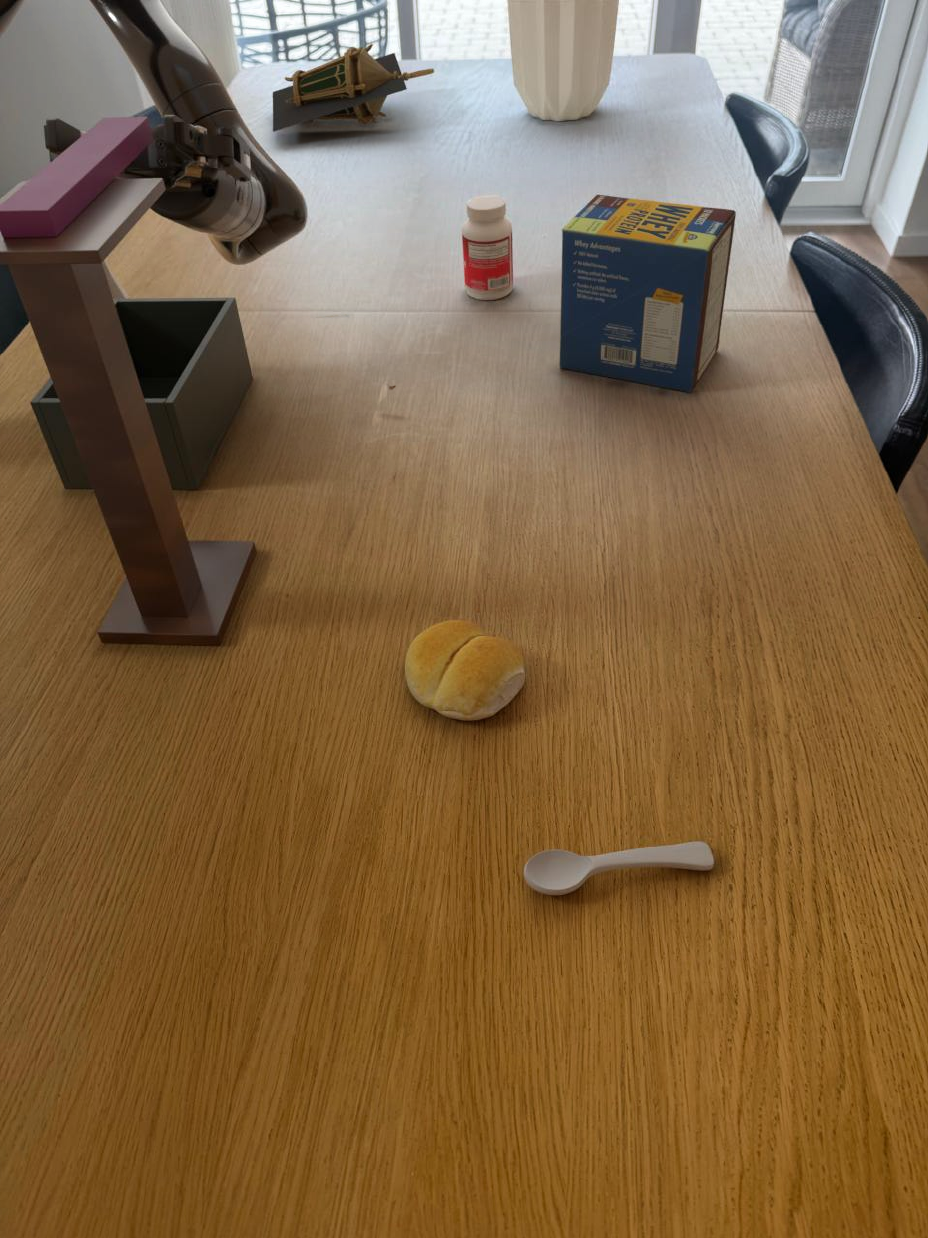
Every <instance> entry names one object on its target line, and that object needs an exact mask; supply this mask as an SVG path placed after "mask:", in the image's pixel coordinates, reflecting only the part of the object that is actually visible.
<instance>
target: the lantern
mask: <svg viewBox="0 0 928 1238" xmlns="http://www.w3.org/2000/svg"><path fill="white" fill-rule="evenodd" d="M373 45H374V44H373V43H370V44H369V45H368V46H366V47H365V48H363V45H361V46H360V47H359V48H357V47H354V46H350V47H348V49H346V51H345V52H344V53H343V55H342V56H340V57H339V56H338V58H335V59H333V60H331V61H328V62H326V63H323V64H321V65H319V66H316V67H314V68H311V69H309V70H307V71H305V70H301V69H298V70H295V72H294V73H292V75H291V77H289V76H285V77H284V80H285V81H286V82H292V85H290V86H288V87H287V86H286V87H284V88H281V89H277V90H275V91H272V132H273V133H274V132H277V131H281V130H284V129H287V128H290V127H293V126H296V125H299V124H303V123H306V124H313V123H314V122H315V121H325V120H327V121H330V120H332V121H334V120H337V121H339V120H357V121H358V122H359V123H362V124H364V125H365V124H370V122H371V121H374V122H377V123H378V122H379V121H378V119H377V117H381V118H388V115H387V114H386V113H384V112H382V111H381V110H382V107H383V105H384V103H385V101H386V99H387V97H388V96H390V95H394V94H397V93H400V92H403V91H406V90H408V88H407V84H406V82H407V81H409V80H411V79H415V78H420V77H424V76H428V75H432V74H434V73H435V69H434V68H427V69H421V70H416V71H411V72H407V71H404V72H403V73H402V70H401V68H400V65H399V62H398V59H397V57H396V53H395V52H393V53H392V52H391V53H390V54H386V55H382V56H380V57H377V58H374V57H373V56H372V55H371V54H370V53H369V52H370V51H371V50H372V48H373Z"/></svg>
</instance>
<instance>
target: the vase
mask: <svg viewBox="0 0 928 1238" xmlns="http://www.w3.org/2000/svg"><path fill="white" fill-rule="evenodd" d="M619 4H620V0H507V13H508V14H507V17H508V28H509V29H508V30H509V43H510V44H509V45H510V58H511V67H512V78H513V86H514V87H515V90H516V91H517V93H518V95H519V97H520V99H521V101H522V102H523V104H524V106H525V108H526V109H527V111H528V113H529V115H530V116H531V117H533V118H537V119H540V120H542V121H554V122H564V121H577V120H579V119H581V118H587V117H590V115H591V114H592V113H594V112H595V111H596V109H597V108H598V106H599V104H600V102H601V100H602V99H603V97H604V95H605V93H606V91H607V89H608V86H609V85H610V81H611V74H612V66H613V58H614V51H615V44H616V43H615V41H616V32H617V23H618V16H619V15H618V13H619Z"/></svg>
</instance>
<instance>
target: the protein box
mask: <svg viewBox="0 0 928 1238" xmlns="http://www.w3.org/2000/svg"><path fill="white" fill-rule="evenodd" d="M736 217H737V212H736V210H735V209H727V208H718V207H709V206H707V207H706V206H700V205H691V204H681V203H672V202H664V201H655V200H649V199H648V200H647V199H639V198H629V197H620V196H613V195H605V194H596V195H594V196H593V198H592V199H591V200H589V202H587V204H586V205H585V206H583V208H582V209H581V210H580V211H579V212H578V213H576V214H575V216H573V217H572V219H570V220H569V221H568V222H567V223H566V224H565V225H564V226H563V227H562V229H561V239H562V240H561V280H560V281H561V283H560V319H559V321H560V326H559V357H558V358H559V360H558V361H559V362H558V363H559V364H558V365H559V366H558V367H559V368H560V369H566V370H571V371H576V372H581V373H586V374H590V375H597V376H601V377H607V378H611V379H617V380H622V381H627V382H632V383H638V384H644V385H648V386H653V387H658V388H664V389H670V390H674V391H680V392H684V393H691V392H693V391H694V389H695V387H696V386H697V384H698V382H699V381H700V379H701V377H703V375H704V373H705V371H706V370H707V368H708V366H709V364H710V363H711V361H712V360H713V358H715V357H714V356H715V355H716V353H717V351H718V350H719V346H720V337H721V329H722V322H723V312H724V307H725V298H726V291H727V282H728V275H729V267H730V262H731V261H730V260H731V253H732V246H733V238H734V231H735V225H736V224H735V223H736Z"/></svg>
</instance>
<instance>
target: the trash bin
mask: <svg viewBox="0 0 928 1238" xmlns="http://www.w3.org/2000/svg"><path fill="white" fill-rule="evenodd" d="M113 300H114V304H115V307H116V310H117V313H118V316H119V320H120V323H121V326H122V329H123V332H124V336H125V339H126V342H127V345H128V349H129V352H130V355H131V358H132V361H133V365H134V368H135V371H136V374H137V378H138V381H139V384H140V387H141V390H142V394H143V397H144V400H145V403H146V407H147V410H148V413H149V416H150V419H151V423H152V426H153V429H154V432H155V435H156V439H157V442H158V445H159V448H160V452H161V455H162V458H163V461H164V464H165V468H166V471H167V474H168V477H169V481H170V484H171V487H172V490H174V491H198V490H199V488H200V487H201V484H202V482H203V480H204V479H205V476H206V474H207V473H208V470H209V468H210V466H211V465H212V462H213V461H214V458H215V457H216V454H217V452H218V450H219V448H220V446H221V444H222V443H223V440H224V438H225V436H226V435H227V432H228V430H229V428H230V426H231V424H232V422H233V421H234V418H235V416H236V414H237V412H238V411H239V408H240V406H241V404H242V401H243V400H244V398H245V395H246V394H247V392H248V390H249V388H250V385H252V384H251V383H252V382H253V380H254V375H253V372H252V368H251V362H250V358H249V354H248V350H247V345H246V340H245V335H244V331H243V327H242V323H241V318H240V314H239V308H238V304H237V299H236V297H154V298H153V297H151V298H150V297H149V298H148V297H146V298H144V297H143V298H139V297H138V298H136V297H135V298H130V299H113ZM29 404H30V407H31V409H32V411H33V414H34V416H35V418H36V421H37V423H38V426H39V429H40V432H41V433H42V436H43V439H44V442H45V443H46V446H47V449H48V451H49V453H50V456H51V458H52V461H53V463H54V466H55V468H56V470H57V473H58V477H59V479H60V481H61V483H62V486H63V488H64V489H73V490H75V489H77V490H80V489H85V490H91V489H92V490H93V488H92V485H91V482H90V480H89V477H88V475H87V472H86V469H85V467H84V464H83V461H82V459H81V456H80V453H79V451H78V448H77V445H76V443H75V440H74V438H73V435H72V432H71V430H70V427H69V424H68V422H67V419H66V416H65V414H64V411H63V408H62V406H61V403H60V401H59V398H58V395H57V393H56V390H55V387H54V385H53V382H52V379H51V377H50V376H49V378H48V379H47V381H45V383H44V384H43V386H41V388H40V389H39V390H38V392H37V393H36V394H35V396H34V397H33V398H32V399H31V400H30V401H29Z"/></svg>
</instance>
